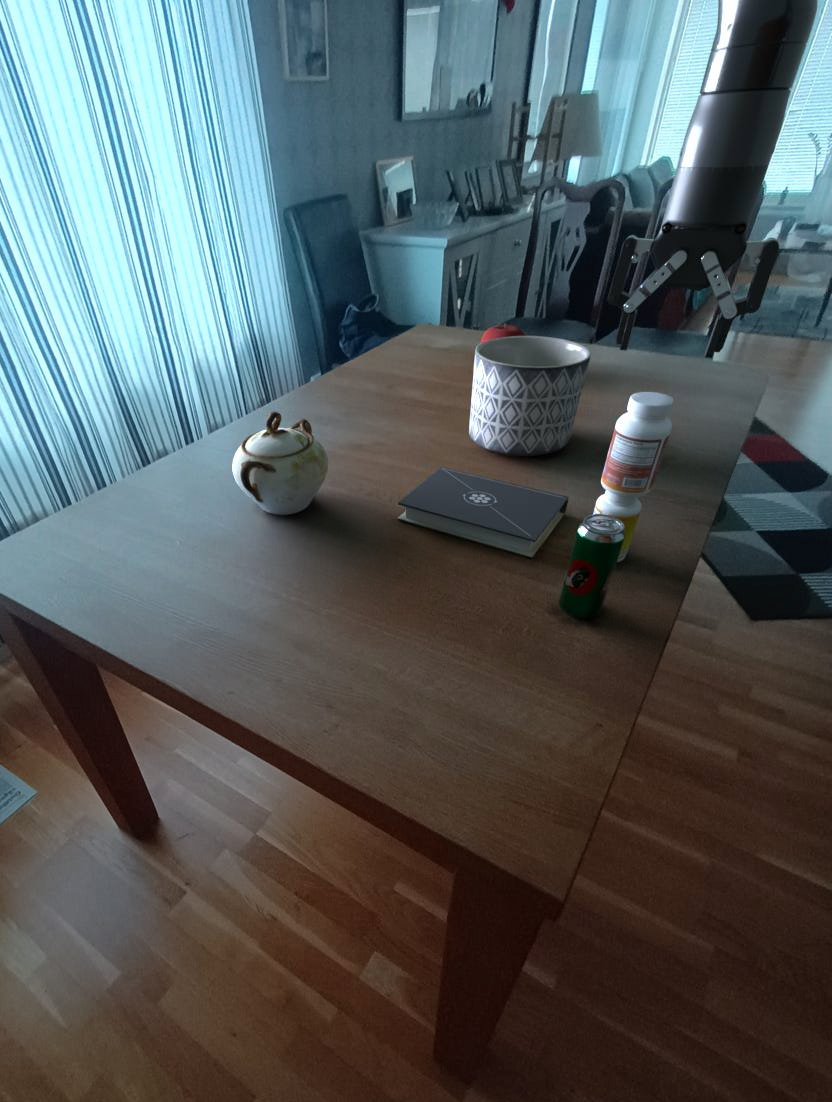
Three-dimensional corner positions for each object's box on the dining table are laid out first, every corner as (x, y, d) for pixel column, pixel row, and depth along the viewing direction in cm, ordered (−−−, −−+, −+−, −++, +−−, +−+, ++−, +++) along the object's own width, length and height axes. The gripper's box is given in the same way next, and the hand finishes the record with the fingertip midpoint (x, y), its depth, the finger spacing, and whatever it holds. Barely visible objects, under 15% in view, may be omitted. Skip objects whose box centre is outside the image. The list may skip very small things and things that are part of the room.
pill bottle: (622, 472, 77) (648, 385, 69) (662, 490, 73) (693, 400, 65) (589, 483, 74) (611, 395, 67) (627, 503, 70) (656, 411, 63)
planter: (578, 433, 112) (600, 341, 102) (556, 473, 100) (578, 372, 89) (483, 419, 119) (494, 331, 108) (451, 454, 107) (460, 359, 96)
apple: (521, 384, 135) (529, 329, 127) (475, 382, 137) (481, 327, 129) (522, 369, 143) (530, 317, 135) (478, 368, 145) (484, 316, 137)
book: (565, 513, 89) (570, 495, 87) (532, 559, 80) (535, 540, 78) (439, 482, 98) (441, 465, 96) (396, 520, 89) (397, 502, 87)
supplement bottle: (633, 557, 80) (657, 489, 73) (605, 570, 78) (627, 501, 71) (601, 539, 83) (621, 473, 76) (574, 551, 81) (591, 484, 74)
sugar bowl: (293, 541, 85) (282, 443, 76) (212, 521, 91) (191, 427, 81) (351, 485, 99) (348, 395, 89) (277, 470, 104) (266, 384, 94)
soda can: (603, 622, 69) (632, 536, 61) (560, 619, 70) (583, 533, 62) (596, 597, 73) (623, 513, 65) (555, 594, 74) (577, 510, 66)
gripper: (635, 164, 52) (592, 356, 63) (820, 160, 47) (739, 368, 58) (642, 160, 57) (601, 338, 68) (810, 156, 53) (737, 349, 63)
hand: (665, 352), depth 63 cm, fingers open, 8 cm apart
